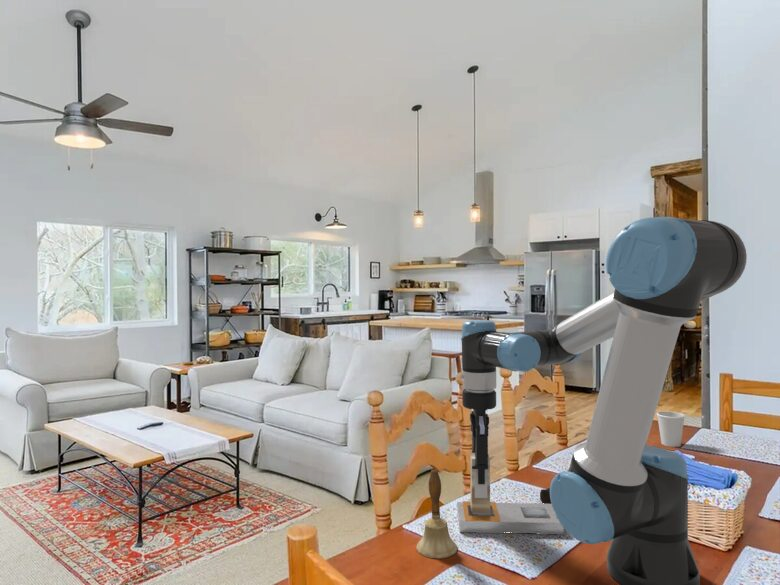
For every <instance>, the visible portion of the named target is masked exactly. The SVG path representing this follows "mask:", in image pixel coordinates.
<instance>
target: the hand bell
mask: <svg viewBox="0 0 780 585" xmlns="http://www.w3.org/2000/svg"><path fill="white" fill-rule="evenodd" d="M441 481H442V480H441V478H440V474H439V471H438V469H435V468H434V469H431V471H430V475H429V479H428V494H429V497H430V500H431V518H428V519H426V521H425V524H424V525H425V526H424V531H423V536H422V537H421V539H419V541H418V542H417V544H416V547H415V548H416V551H417V553H419V554H420V555H421V556H424V557H425V558H429V559H447V558H450V557H451V556H454V555H455V554H456V553H457V552H458V545H457V544H456V542H455V541H454V540H453V539H452V538H451V536H450V533H449V532H450V531H449V527H448V522H447V520H446V519H444V518H441V510H440V509H441V508H440V498H441V494H442V493H441V492H442V482H441Z"/></svg>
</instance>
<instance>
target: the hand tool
mask: <svg viewBox="0 0 780 585" xmlns="http://www.w3.org/2000/svg"><path fill="white" fill-rule="evenodd" d="M539 500H540V502H541V504H543V503H544V504H551V499H550V487H548V488H545V489H542V488H541V490H540V492H539Z"/></svg>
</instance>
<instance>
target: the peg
mask: <svg viewBox="0 0 780 585" xmlns="http://www.w3.org/2000/svg"><path fill="white" fill-rule="evenodd" d="M490 461H491V458H490V456H489V454H488V466H489V467H488V469H487V498H475V469H472V466H475V453H472V452H470V453H469V466H470V468H469V470H470V472H469V473H470V474H469V475H470V480H469V481H470V501H471V510H472V513H490V502H491V462H490Z"/></svg>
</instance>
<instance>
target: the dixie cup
mask: <svg viewBox="0 0 780 585" xmlns="http://www.w3.org/2000/svg"><path fill="white" fill-rule="evenodd" d="M656 416H657V422H658V429H659V435H660V443H661V445H663V446H666V447H672V448H678V447H681V444H682V438H683V430H684V425H685V424H684V423H685V418H686V415H685V414H684V413H681V412H677V411H669V410H664V411H663V410H662V411H656Z"/></svg>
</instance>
